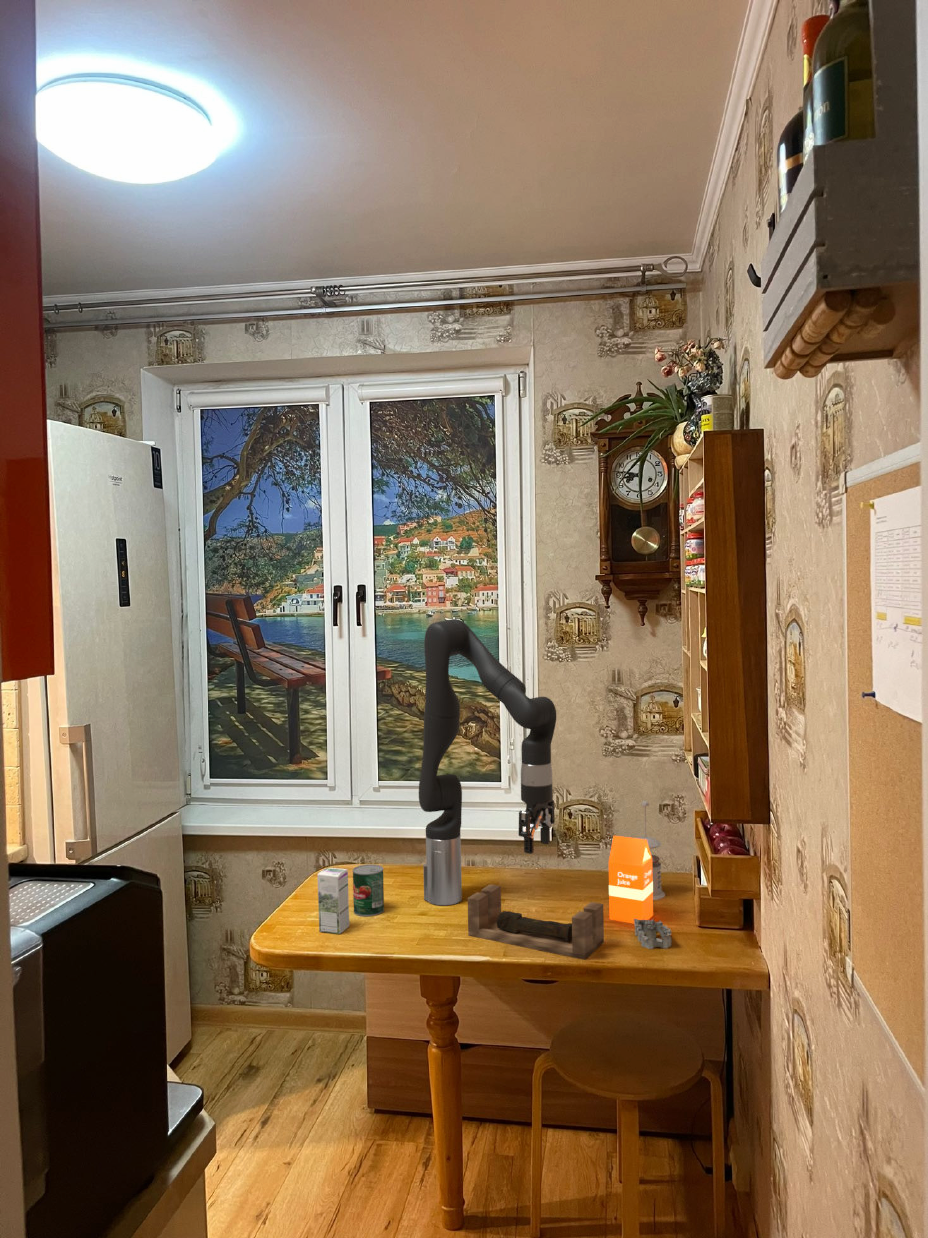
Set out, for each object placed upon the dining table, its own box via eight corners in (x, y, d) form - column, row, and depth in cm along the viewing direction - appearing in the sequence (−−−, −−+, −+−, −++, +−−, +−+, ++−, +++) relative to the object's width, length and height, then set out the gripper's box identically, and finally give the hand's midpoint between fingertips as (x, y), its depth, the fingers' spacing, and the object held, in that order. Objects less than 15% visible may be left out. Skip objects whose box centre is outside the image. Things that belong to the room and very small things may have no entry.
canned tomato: (348, 915, 229) (347, 872, 229) (361, 904, 237) (360, 863, 236) (377, 918, 227) (376, 875, 226) (389, 907, 234) (388, 865, 234)
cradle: (468, 935, 214) (467, 898, 214) (490, 920, 224) (490, 884, 223) (584, 960, 199) (584, 919, 198) (603, 942, 208) (603, 904, 208)
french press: (663, 888, 244) (661, 796, 244) (668, 903, 233) (666, 807, 232) (626, 887, 245) (625, 796, 245) (629, 902, 234) (628, 807, 233)
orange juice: (619, 909, 229) (618, 831, 228) (653, 915, 225) (652, 835, 224) (608, 919, 222) (607, 839, 222) (643, 925, 218) (642, 844, 217)
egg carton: (673, 950, 204) (673, 932, 203) (640, 950, 204) (639, 933, 204) (664, 932, 214) (664, 915, 214) (632, 932, 214) (632, 915, 214)
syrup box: (350, 926, 222) (348, 868, 221) (339, 935, 216) (337, 875, 216) (329, 924, 224) (328, 866, 223) (318, 932, 218) (316, 873, 217)
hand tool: (575, 938, 208) (575, 918, 208) (569, 944, 205) (568, 924, 205) (502, 925, 217) (501, 906, 217) (495, 931, 214) (494, 912, 214)
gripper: (536, 789, 206) (537, 859, 207) (563, 776, 218) (564, 842, 219) (508, 785, 210) (509, 854, 211) (536, 773, 222) (536, 838, 223)
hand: (537, 848), depth 215 cm, fingers open, 8 cm apart
